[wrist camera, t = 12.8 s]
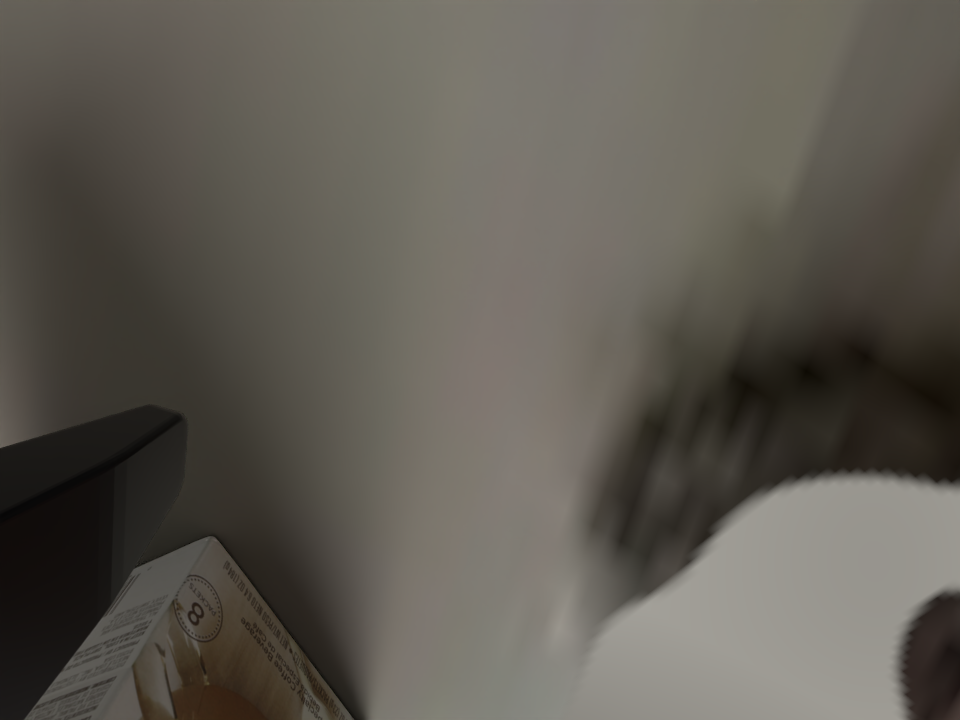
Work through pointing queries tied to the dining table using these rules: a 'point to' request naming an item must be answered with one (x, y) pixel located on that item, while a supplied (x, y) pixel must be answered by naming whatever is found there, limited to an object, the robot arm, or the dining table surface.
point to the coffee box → (189, 652)
